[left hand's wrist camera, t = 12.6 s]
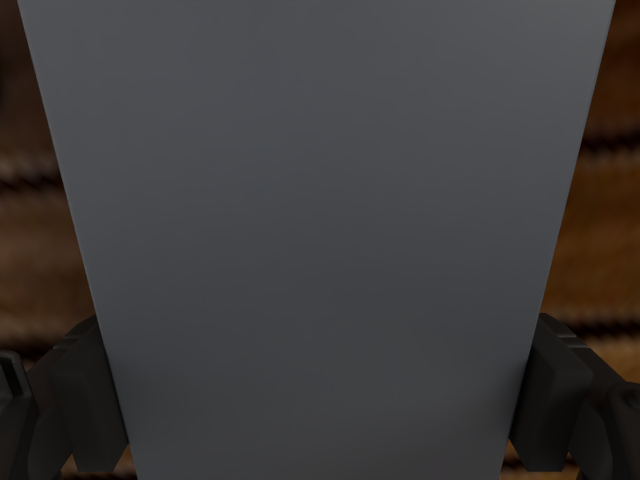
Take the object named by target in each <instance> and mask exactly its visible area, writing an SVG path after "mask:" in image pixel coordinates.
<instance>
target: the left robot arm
mask: <svg viewBox="0 0 640 480" xmlns="http://www.w3.org/2000/svg"><path fill="white" fill-rule="evenodd" d="M509 439H510V441H511V443H512V445H513V446H514V448H515V450H516V452H517V454H518V455H519V457H520V459H521V461H522V463H523V464H524V466H525V468H526V470H527V472H562V469H563V466H564V463H565V460H566V457H567V454H568V452H569V453H570V454H571V456H572V457H573V459H574V460H575V462H576V463H577V464H578V466H579V467H580V470H579V473H578V476H577V478H576V480H640V384H638V383H632V382H626V381H625V380H624V379H623V378H622V377H621V376H619V375H618V374H617V373H616V372H615V371H614V370H613V369H612V368H611V367H610V366H609V365H608V364H607V363H605V362H604V361H603V360H602V359H601V358H600V357H599V356H598V355H597V354H596V353H595V352H594V351H593V350H591V349H590V348H587V345H586V344H585V343H584V342H583V341H582V340H581V339H580V338H577V337H576V335H575V334H574V333H573V332H572V331H571V330H570V329H569V328H568V327H567V326H566V325H565V324H564V323H562V322H560V321H558V320H557V319H555V318H553V317H551V316H549V315H548V314H546V313H539V316H538V320H537V324H536V328H535V332H534V336H533V340H532V344H531V348H530V352H529V356H528V361H527V365H526V369H525V373H524V377H523V381H522V385H521V389H520V393H519V397H518V401H517V405H516V410H515V414H514V418H513V422H512V426H511V430H510V434H509ZM128 443H129V442H128V438H127V434H126V430H125V426H124V422H123V418H122V414H121V410H120V406H119V402H118V398H117V394H116V390H115V386H114V382H113V378H112V374H111V370H110V366H109V362H108V358H107V355H106V351H105V347H104V343H103V339H102V335H101V331H100V327H99V323H98V319H97V315H96V314H95V315H93V316H91V317H90V318H88V319H86V320H84V321H82V322H81V323H79V324H77V325H76V326H75V327H74V328H73V329H72V330H71V331H70V332H69V333H68V334H66V335H65V336H64V339H61V340H60V341H59V342H58V343H57V344H56V345H55V346H54V348H53V349H50V350H49V351H48V352H47V353H46V354H45V355H44V356H43V357H42V358H41V359H40V360H39V361H38V362H37V363H35V364H34V365H33V366H32V367H31V368H30V369H29V370H28V371H27V372H25V369H24V366H23V363H22V360H21V357H20V355H19V354H17V353H16V352H14V351H9V350H0V480H63V476H62V473H61V470H60V469H61V468H62V467H63V465H64V464H65V462H66V461H67V459H68V458H69V456H70V455H71V454H73V457H74V460H75V463H76V466H77V469H78V472H113V470H114V468H115V466H116V464H117V463H118V461H119V459H120V457H121V455H122V454H123V452H124V450H125V448H126V446H127V445H128Z"/></svg>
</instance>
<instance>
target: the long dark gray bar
mask: <svg viewBox="0 0 640 480" xmlns="http://www.w3.org/2000/svg"><path fill="white" fill-rule="evenodd" d="M615 1H616V0H17V2H18V6H19V10H20V14H21V18H22V22H23V26H24V30H25V34H26V38H27V42H28V45H29V49H30V53H31V57H32V61H33V65H34V69H35V73H36V77H37V81H38V85H39V89H40V93H41V97H42V101H43V105H44V109H45V113H46V117H47V121H48V125H49V129H50V133H51V137H52V141H53V145H54V149H55V152H56V156H57V160H58V164H59V168H60V172H61V176H62V180H63V184H64V188H65V192H66V196H67V200H68V204H69V208H70V212H71V216H72V220H73V224H74V228H75V232H76V236H77V240H78V244H79V248H80V252H81V255H82V259H83V263H84V267H85V271H86V275H87V279H88V283H89V287H90V291H91V295H92V299H93V303H94V307H95V311H96V315H97V319H98V323H99V327H100V331H101V335H102V339H103V343H104V347H105V351H106V355H107V358H108V362H109V366H110V370H111V374H112V378H113V382H114V386H115V390H116V394H117V398H118V402H119V406H120V410H121V414H122V418H123V422H124V426H125V430H126V434H127V438H128V442H129V446H130V450H131V454H132V458H133V462H134V465H135V469H136V473H137V477H138V480H498V479H499V475H500V471H501V467H502V463H503V458H504V454H505V450H506V446H507V442H508V438H509V434H510V430H511V426H512V422H513V418H514V414H515V410H516V405H517V401H518V397H519V393H520V389H521V385H522V381H523V377H524V373H525V369H526V365H527V361H528V356H529V352H530V348H531V344H532V340H533V336H534V332H535V328H536V324H537V320H538V316H539V312H540V307H541V303H542V299H543V295H544V291H545V287H546V283H547V279H548V275H549V271H550V267H551V263H552V258H553V254H554V250H555V246H556V242H557V238H558V234H559V230H560V226H561V222H562V218H563V214H564V210H565V205H566V201H567V197H568V193H569V189H570V185H571V181H572V177H573V173H574V169H575V165H576V161H577V156H578V152H579V148H580V144H581V140H582V136H583V132H584V128H585V124H586V120H587V116H588V112H589V107H590V103H591V99H592V95H593V91H594V87H595V83H596V79H597V75H598V71H599V67H600V63H601V59H602V54H603V50H604V46H605V42H606V38H607V34H608V30H609V26H610V22H611V18H612V14H613V10H614V5H615Z"/></svg>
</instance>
